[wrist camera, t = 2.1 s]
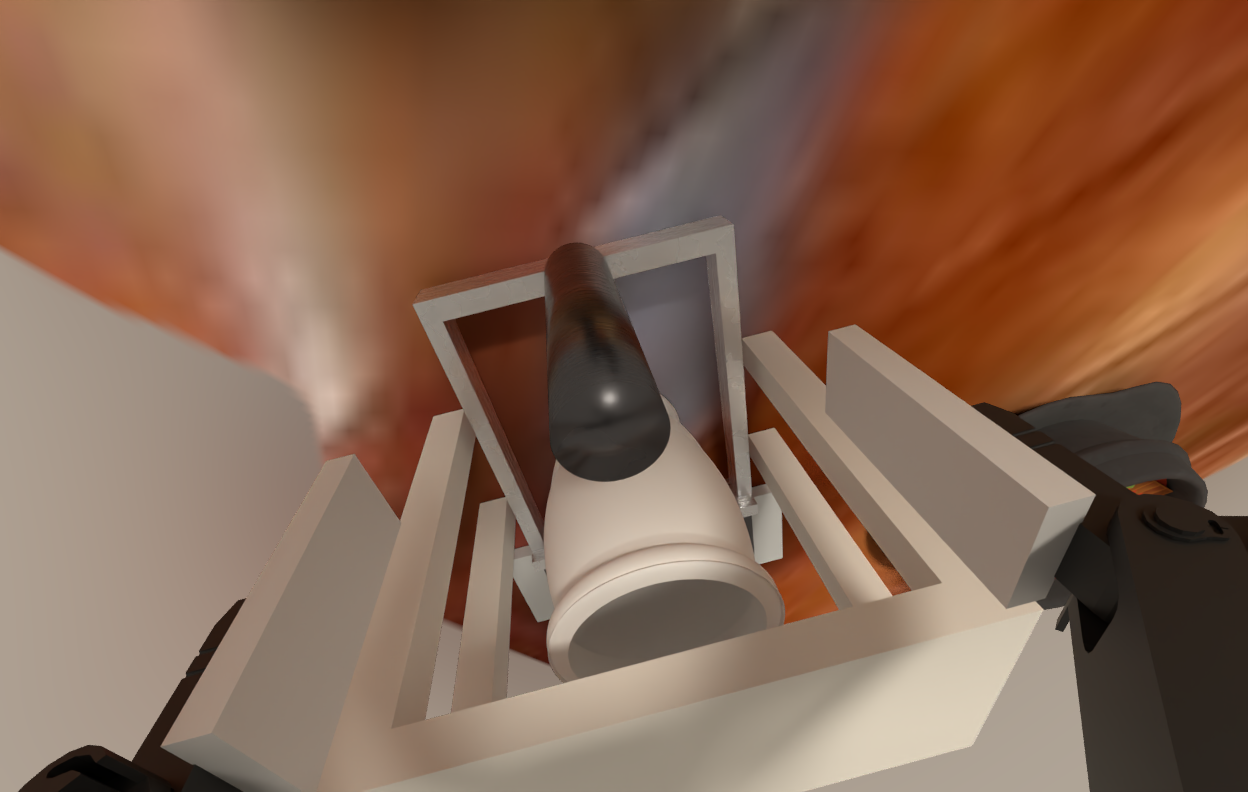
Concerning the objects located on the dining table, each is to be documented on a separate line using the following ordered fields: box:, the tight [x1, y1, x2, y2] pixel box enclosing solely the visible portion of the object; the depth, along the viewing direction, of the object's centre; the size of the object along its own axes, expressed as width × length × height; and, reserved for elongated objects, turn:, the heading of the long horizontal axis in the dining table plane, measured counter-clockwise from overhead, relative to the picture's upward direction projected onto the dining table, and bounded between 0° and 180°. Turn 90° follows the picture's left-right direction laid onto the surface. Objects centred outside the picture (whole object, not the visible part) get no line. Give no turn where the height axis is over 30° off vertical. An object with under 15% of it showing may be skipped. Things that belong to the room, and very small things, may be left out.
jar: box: [544, 394, 785, 683], centre depth 27 cm, size 11×10×15 cm
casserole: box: [1018, 382, 1208, 610], centre depth 38 cm, size 25×19×8 cm
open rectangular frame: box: [316, 331, 1044, 792], centre depth 28 cm, size 22×22×20 cm
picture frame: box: [412, 215, 758, 572], centre depth 24 cm, size 21×16×15 cm
